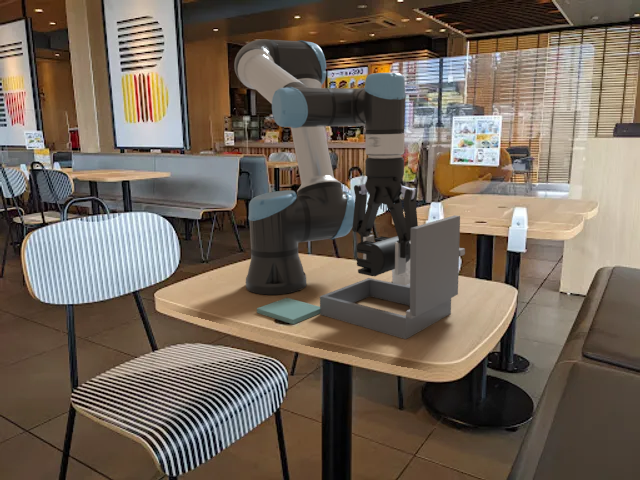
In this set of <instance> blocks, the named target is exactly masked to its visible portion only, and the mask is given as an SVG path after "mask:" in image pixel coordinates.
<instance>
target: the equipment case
mask: <svg viewBox="0 0 640 480" xmlns="http://www.w3.org/2000/svg"><path fill="white" fill-rule="evenodd" d="M460 228H461V216H460V215H451V216H449V217H448V216H447V217H443V218H441V219H437V220H434V221H430V222H427V223H423V224H420V225H419V224H418V226H416V227H412V228H411V237H410V284H407V285H401V284H396V283H393V282H392V281H386V280H381V279H376V278H370V277H368V278H365V279H362V280H359V281H357V282H354V283H352V284H348V285H346V286H343V287H341V288H338V289H336V290H332V291H330V292H328V293H325V294H322V295H320V296H319V307H320V314H319V315H321V316H325V317H328V318H331V319H334V320H337V321H341V322H345V323H348V324H352V325H355V326H359V327H362V328H365V329H369V330H373V331H376V332H380V333H383V334H387V335H391V336H393V337H397V338H401V339H404V340H407V339H409V338H411V337H412V336H414V335H415V334H417V333H419V332H422V331H423V330H424V329H426V328H428V327H430V326H431V325H433V324H435V323H437V322H439V321H440V320H442V319H444V318H445V317H447V316H449V315H451V314H452V298H454V297H455V296H458V295H459V271H460V270H459V268H460V267H459V266H460V263H459V262H460V257H462V256H465V254H466V248H464V247H460V238H461V235H460V233H461V229H460ZM369 297H371V298H376V299H381V300H383V301H389V302H393V303H397V304H400V305H405V306H409V309H407V310H406V311H405V315H403V314H399V313H397V312H396V313H395V312H391V311H386V310H383V309H380V308H376V307H371V306H367V305H363V304H360V303H357V302H360V301H362V300H364V299H366V298H369Z"/></svg>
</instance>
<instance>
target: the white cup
mask: <svg viewBox="0 0 640 480" xmlns="http://www.w3.org/2000/svg"><path fill="white" fill-rule="evenodd" d="M391 277H392V281H391V283H396V284H401V285H407V284H410V260H409V261H408V262H407V263H406V272H404V273H401V274H399V275H397V274H395V269H393V270H391Z"/></svg>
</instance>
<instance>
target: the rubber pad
mask: <svg viewBox="0 0 640 480" xmlns="http://www.w3.org/2000/svg"><path fill="white" fill-rule="evenodd" d="M256 313H257V314H260V315H263V316H266V317H270V318H273V319H275V320H278V321H281V322H284V323H287V324H288V323H289V324H291V325H295V324H298V323H300V322H302V321H304V320H307V319H309V318H313V317H314V316H317V315H320V305H315V304H311V303H308V302H304V301H301V300H298V299H297V300H296V299H294V298H290V297H284V298H282V299H280V300H276V301H274V302H271V303H269V304H266V305H262V306H259V307H256Z"/></svg>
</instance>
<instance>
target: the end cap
mask: <svg viewBox="0 0 640 480" xmlns="http://www.w3.org/2000/svg"><path fill="white" fill-rule="evenodd" d="M398 240H399V239H398V236H392V237H387V236H382V235H381V236H379V237H376V238H375V237H374V242H370V241H364V242H361V241H360V242H358V243H357V244H356V253H359V254H367V255H368V260H365V259H363V258H360V257H357V258H356V266H357V267H360V268H359V269H357V273H358V274H360V275H364V276H369V277H377V276H379V275H382V274H384V273H388V272H391V271H392V270H393V269H395V242H397V241H398ZM409 260H410V242H409V256H408V257H406V263H407V262H408V261H409Z"/></svg>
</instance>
